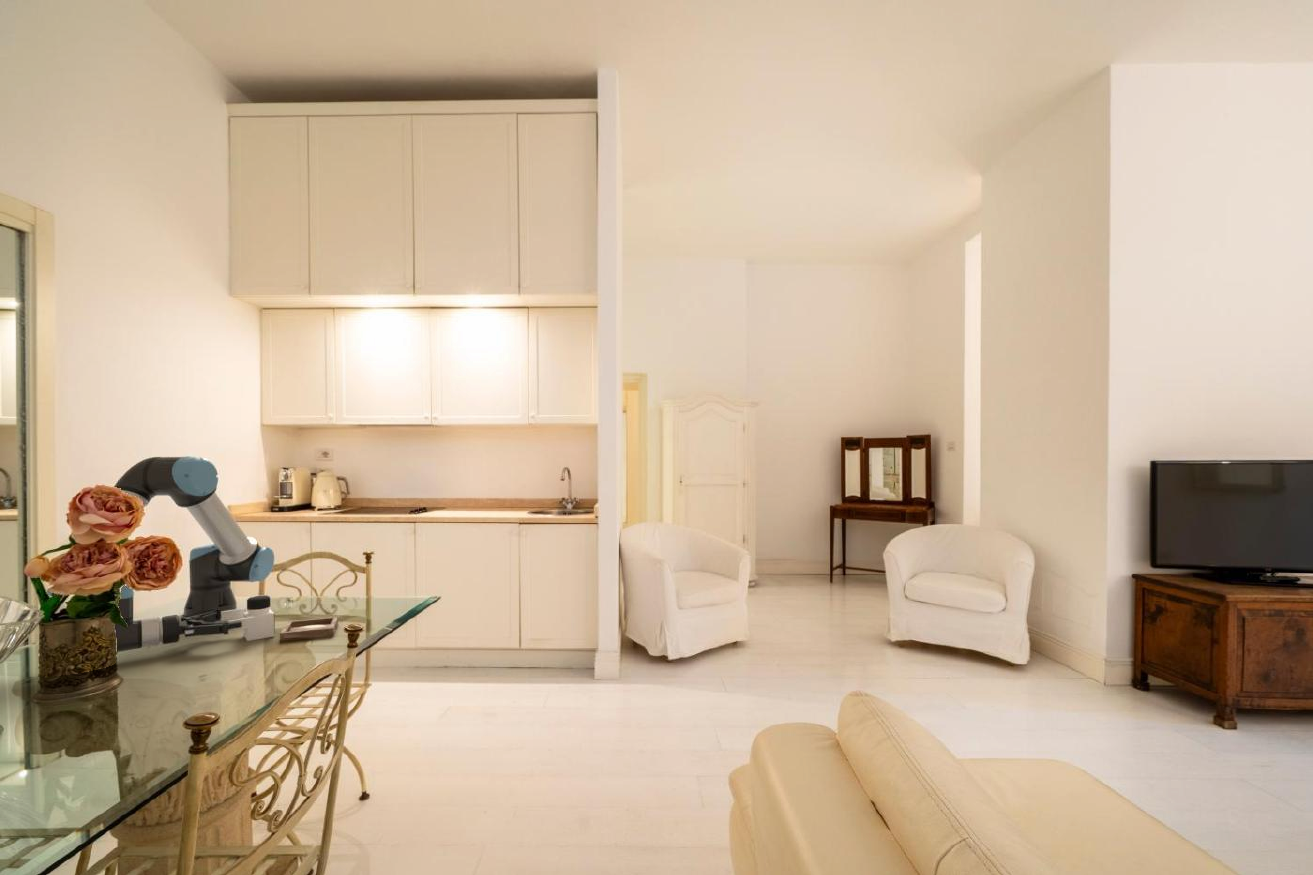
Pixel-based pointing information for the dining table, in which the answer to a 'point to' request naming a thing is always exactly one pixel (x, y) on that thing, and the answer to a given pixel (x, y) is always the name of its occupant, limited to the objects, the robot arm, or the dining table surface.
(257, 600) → the medicine bottle
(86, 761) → the dining table surface
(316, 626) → the wooden tray
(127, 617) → the robot arm
